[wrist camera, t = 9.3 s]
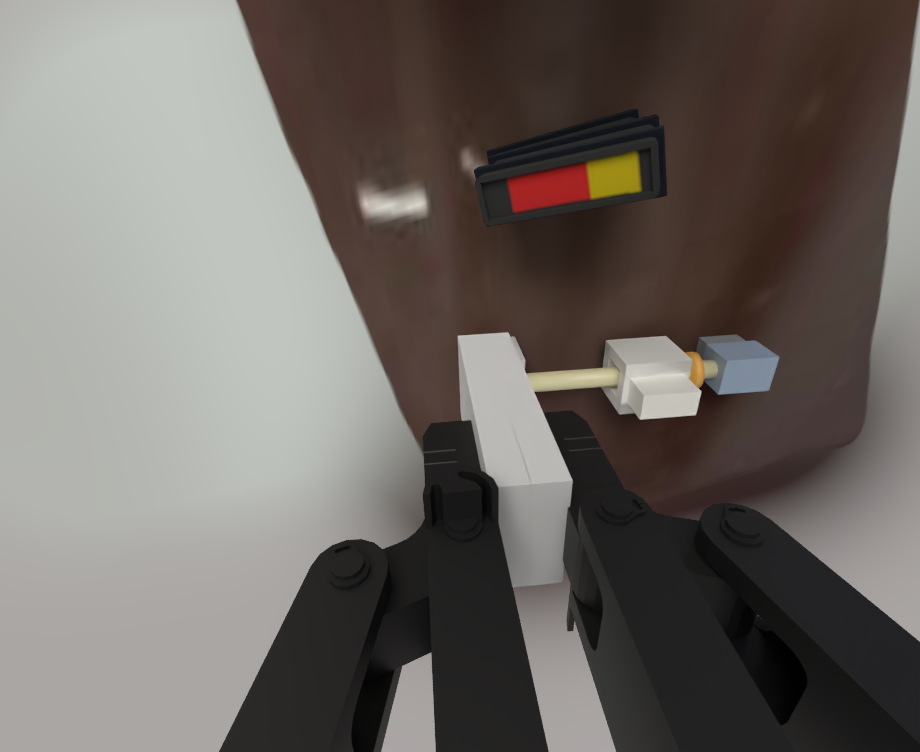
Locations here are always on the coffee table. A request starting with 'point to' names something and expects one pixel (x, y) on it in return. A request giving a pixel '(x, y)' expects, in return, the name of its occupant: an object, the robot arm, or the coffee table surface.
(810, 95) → the coffee table surface
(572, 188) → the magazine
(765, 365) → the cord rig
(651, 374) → the white stepped block
